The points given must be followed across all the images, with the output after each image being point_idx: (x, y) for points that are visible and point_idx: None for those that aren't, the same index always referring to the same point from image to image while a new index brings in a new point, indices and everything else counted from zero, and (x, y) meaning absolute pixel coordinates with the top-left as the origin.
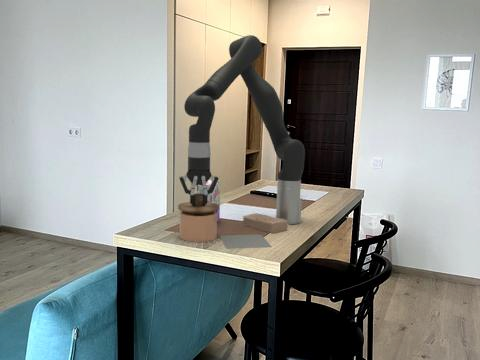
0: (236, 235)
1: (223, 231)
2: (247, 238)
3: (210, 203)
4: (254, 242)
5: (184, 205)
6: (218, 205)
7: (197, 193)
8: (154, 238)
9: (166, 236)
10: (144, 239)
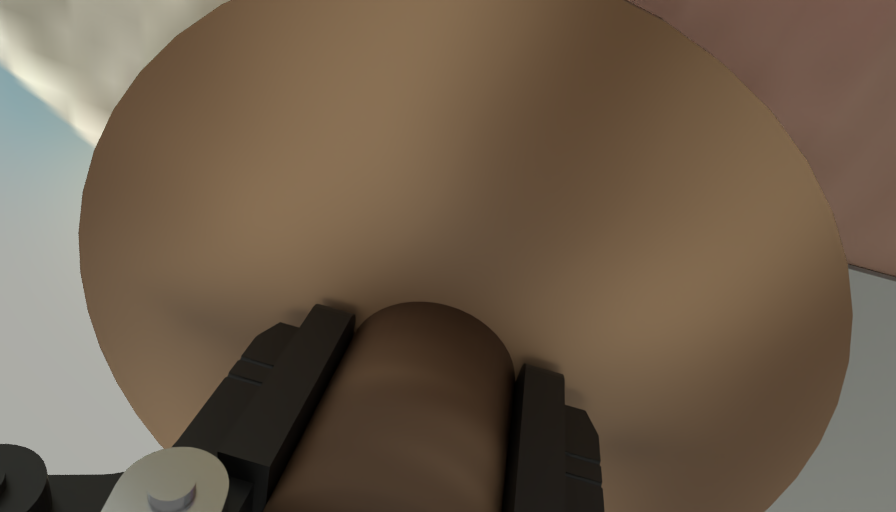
0: (863, 285)
1: (884, 38)
2: (880, 396)
3: (750, 298)
4: (843, 489)
5: (188, 270)
6: (780, 485)
7: (366, 493)
8: (92, 46)
9: (201, 16)
10: (9, 46)
